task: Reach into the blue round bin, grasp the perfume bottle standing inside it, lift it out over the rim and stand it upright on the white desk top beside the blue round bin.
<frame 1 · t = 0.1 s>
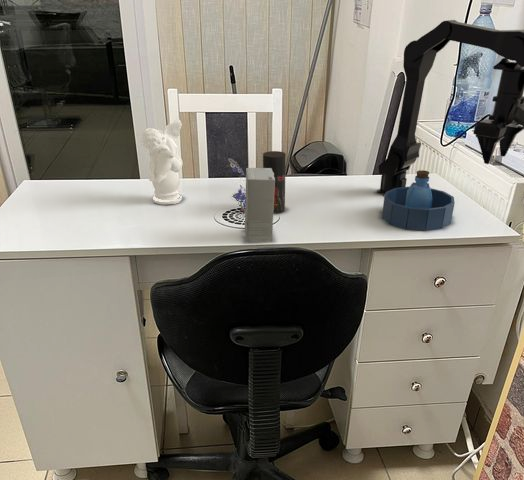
hand: (494, 159, 136), 15 cm above the table, tool pointing down, fingers open, 9 cm apart
blue round bin: (415, 217, 144), on the table
cherub figurine: (167, 198, 159), on the table
cosmetic box: (259, 236, 135), on the table
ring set: (241, 198, 159), on the table
deodorant: (274, 210, 150), on the table
perfume bottle: (415, 218, 144), resting in blue round bin
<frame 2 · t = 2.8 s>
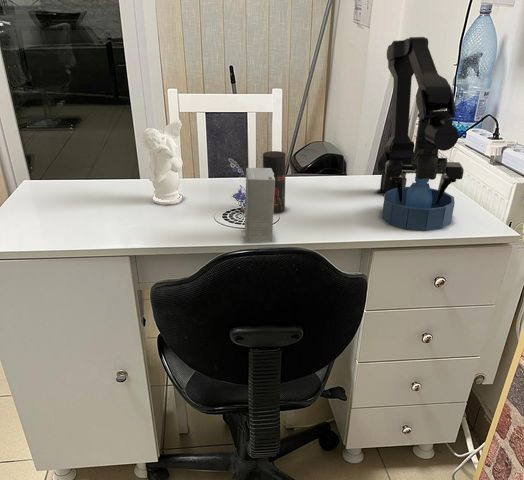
hand: (418, 202, 141), 4 cm above the table, tool pointing down
perfume bottle: (415, 218, 144), resting in blue round bin, touching gripper
everything else where it was.
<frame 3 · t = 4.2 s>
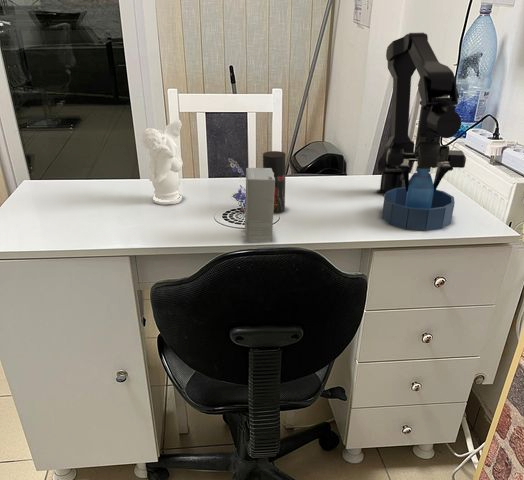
hand: (419, 191, 140), 7 cm above the table, tool pointing down, fingers closed on perfume bottle, 6 cm apart
perfume bottle: (417, 209, 143), point 2 cm above the table, touching gripper
everything else where it was.
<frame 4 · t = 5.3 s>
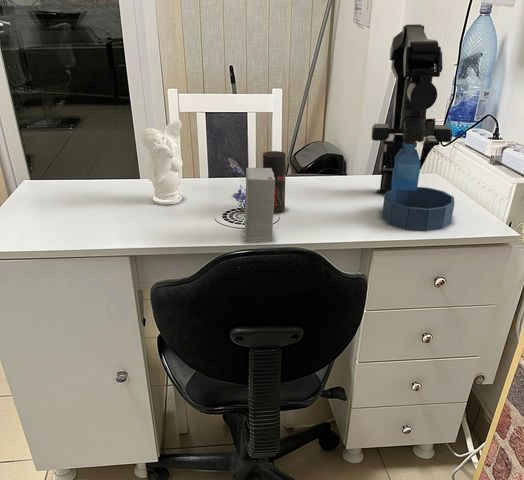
hand: (406, 168, 137), 13 cm above the table, tool pointing down, fingers closed on perfume bottle, 6 cm apart
perfume bottle: (403, 186, 139), point 8 cm above the table, touching gripper
everything else where it was.
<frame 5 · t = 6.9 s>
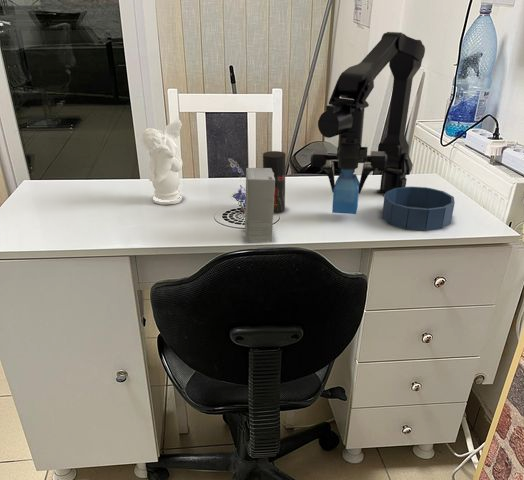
hand: (346, 192, 140), 7 cm above the table, tool pointing down, fingers closed on perfume bottle, 6 cm apart
perfume bottle: (345, 209, 143), point 2 cm above the table, touching gripper
everything else where it was.
when the fingers open (4 cm above the table, at t = 8.0 s): perfume bottle stays where it is, on the table.
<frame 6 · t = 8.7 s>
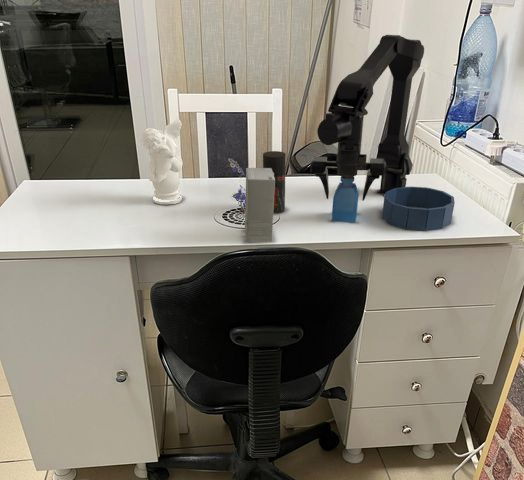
hand: (345, 199, 141), 5 cm above the table, tool pointing down, fingers open, 9 cm apart
perfume bottle: (344, 218, 144), on the table
everything else where it was.
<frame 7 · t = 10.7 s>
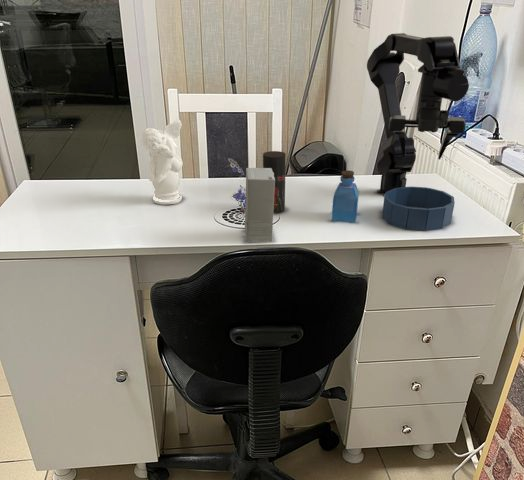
hand: (421, 158, 144), 13 cm above the table, tool pointing down, fingers open, 9 cm apart
nothing on the table moved.
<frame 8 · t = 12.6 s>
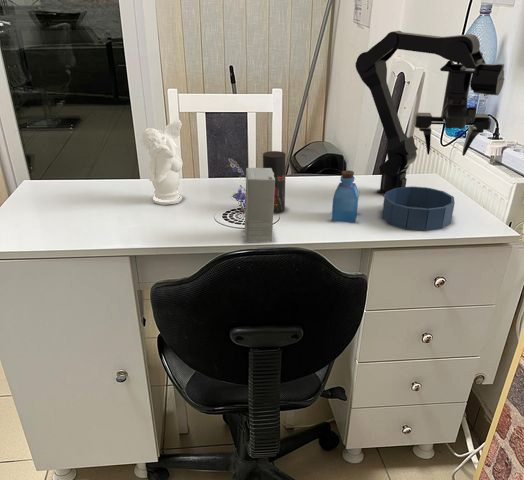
hand: (445, 154, 146), 13 cm above the table, tool pointing down, fingers open, 9 cm apart
nothing on the table moved.
at the end: perfume bottle inside the target area (0.3 cm from its centre), on the table; perfume bottle tilted 0°; perfume bottle touching table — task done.
